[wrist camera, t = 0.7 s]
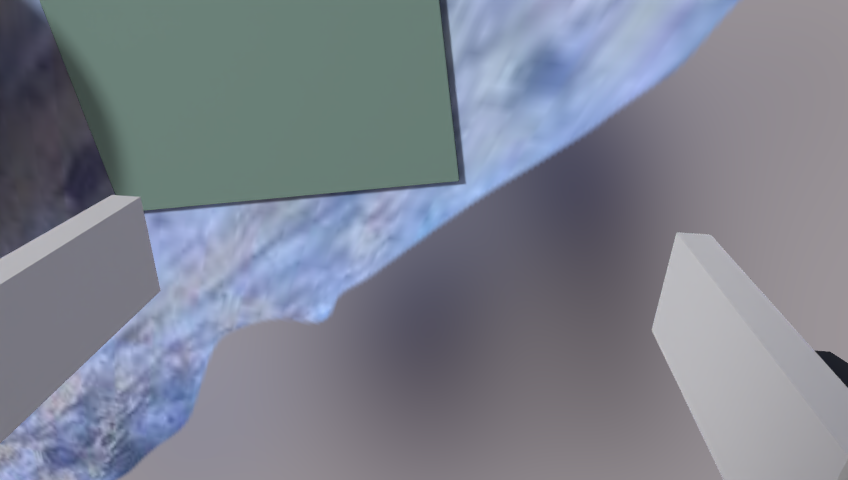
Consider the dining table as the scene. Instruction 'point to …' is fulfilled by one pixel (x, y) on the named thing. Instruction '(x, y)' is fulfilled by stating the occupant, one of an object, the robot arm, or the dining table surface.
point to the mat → (259, 95)
